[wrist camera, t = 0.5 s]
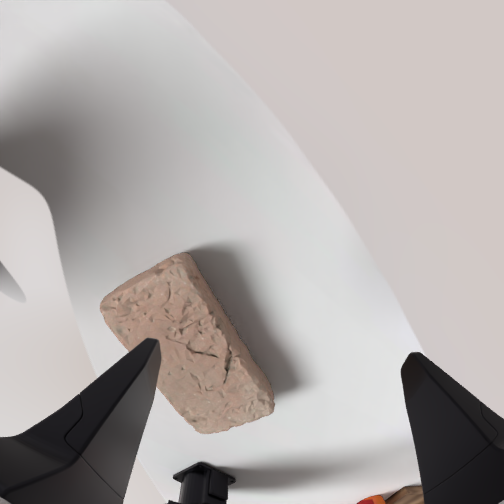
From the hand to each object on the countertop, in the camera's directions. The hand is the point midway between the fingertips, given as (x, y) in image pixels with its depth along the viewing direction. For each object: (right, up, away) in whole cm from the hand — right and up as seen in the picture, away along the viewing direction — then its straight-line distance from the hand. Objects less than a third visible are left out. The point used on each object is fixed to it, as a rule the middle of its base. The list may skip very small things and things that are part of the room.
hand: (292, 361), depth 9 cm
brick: (-6, -5, +17) cm, 19 cm away
